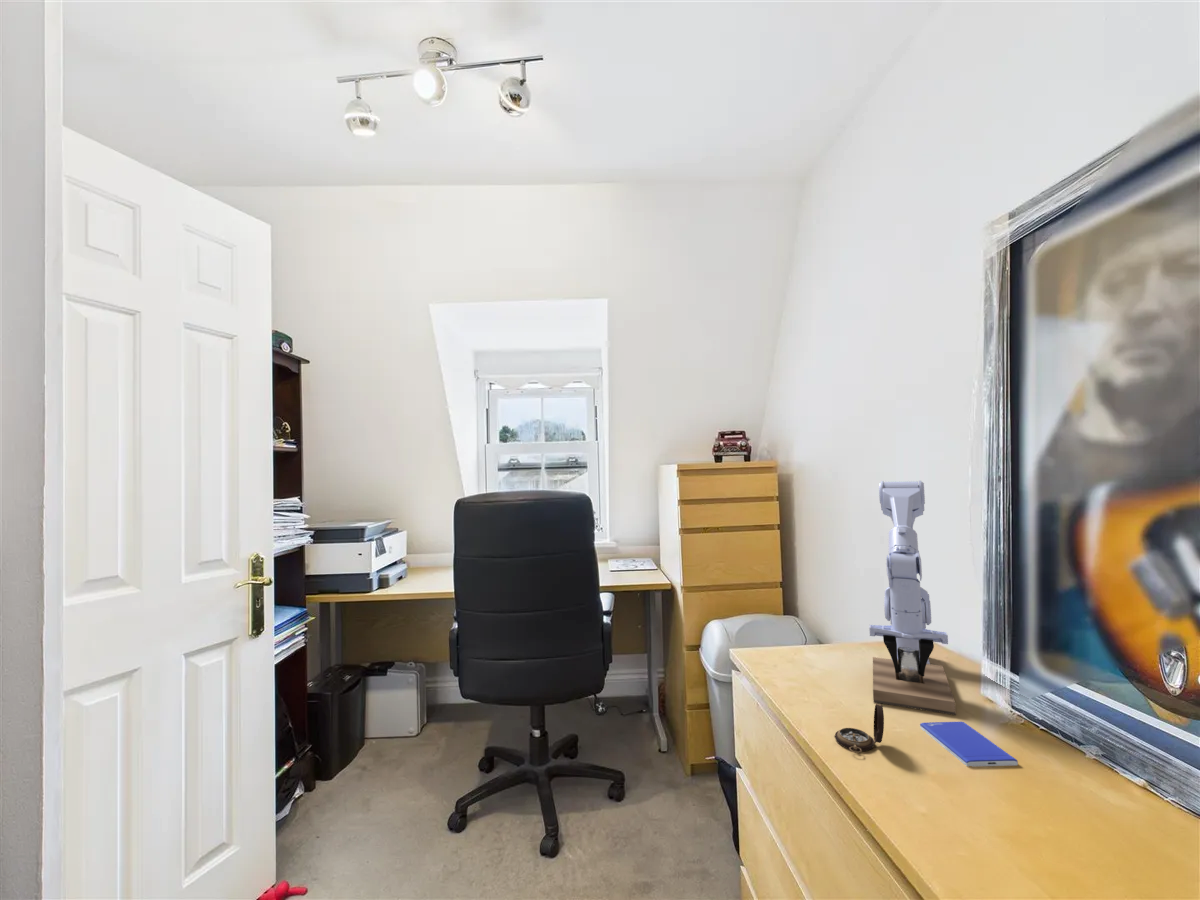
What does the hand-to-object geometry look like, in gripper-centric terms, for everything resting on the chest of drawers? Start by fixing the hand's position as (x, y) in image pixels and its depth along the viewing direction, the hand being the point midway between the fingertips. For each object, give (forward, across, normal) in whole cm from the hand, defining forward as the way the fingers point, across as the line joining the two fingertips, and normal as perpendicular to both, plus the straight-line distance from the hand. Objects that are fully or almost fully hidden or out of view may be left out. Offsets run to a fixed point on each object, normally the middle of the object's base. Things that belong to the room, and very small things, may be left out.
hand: (909, 672), depth 112 cm
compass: (+4, -9, -29) cm, 31 cm away
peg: (+2, 0, 0) cm, 2 cm away
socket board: (+3, 0, 0) cm, 3 cm away
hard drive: (+4, +7, -22) cm, 23 cm away
